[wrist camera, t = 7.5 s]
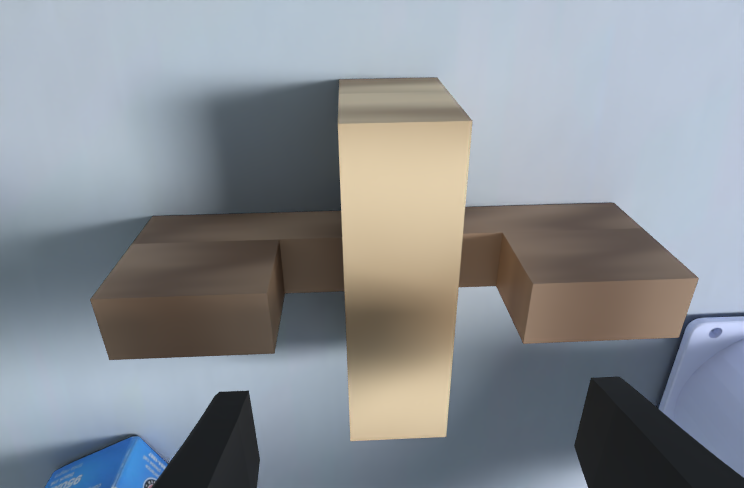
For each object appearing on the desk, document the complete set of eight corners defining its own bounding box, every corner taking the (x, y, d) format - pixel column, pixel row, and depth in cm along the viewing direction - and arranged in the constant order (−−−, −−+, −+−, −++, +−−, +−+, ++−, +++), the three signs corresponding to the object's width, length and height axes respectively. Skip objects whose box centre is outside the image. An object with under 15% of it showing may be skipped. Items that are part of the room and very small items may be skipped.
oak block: (339, 79, 16) (337, 123, 12) (437, 77, 16) (472, 120, 12) (348, 339, 21) (350, 441, 16) (424, 336, 21) (445, 436, 16)
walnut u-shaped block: (614, 202, 18) (698, 278, 14) (602, 252, 19) (678, 337, 15) (152, 216, 18) (90, 299, 13) (164, 266, 19) (109, 359, 14)
